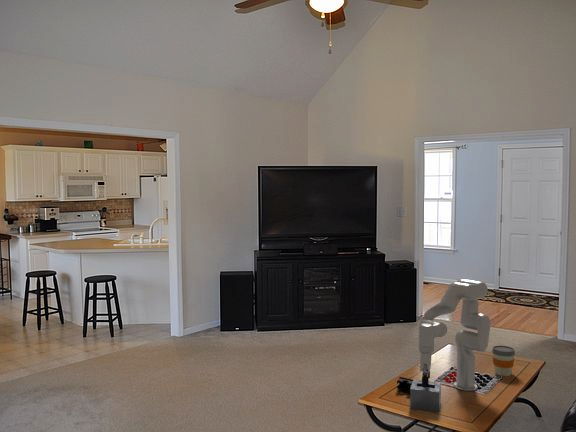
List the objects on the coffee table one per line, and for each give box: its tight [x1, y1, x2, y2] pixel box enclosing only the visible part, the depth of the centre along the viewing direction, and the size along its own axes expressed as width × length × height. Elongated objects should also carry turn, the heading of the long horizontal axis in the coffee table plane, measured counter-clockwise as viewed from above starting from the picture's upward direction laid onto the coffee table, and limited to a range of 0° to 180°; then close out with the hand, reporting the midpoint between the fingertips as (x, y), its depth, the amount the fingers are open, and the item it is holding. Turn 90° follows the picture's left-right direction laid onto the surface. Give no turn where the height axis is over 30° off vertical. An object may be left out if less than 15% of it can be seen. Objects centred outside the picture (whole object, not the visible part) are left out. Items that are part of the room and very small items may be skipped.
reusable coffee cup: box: [491, 345, 516, 377], centre depth 317 cm, size 12×13×15 cm
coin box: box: [409, 378, 442, 413], centre depth 271 cm, size 14×14×10 cm
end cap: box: [396, 376, 413, 395], centre depth 290 cm, size 10×7×7 cm
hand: (425, 381), depth 271 cm, fingers open, 9 cm apart
